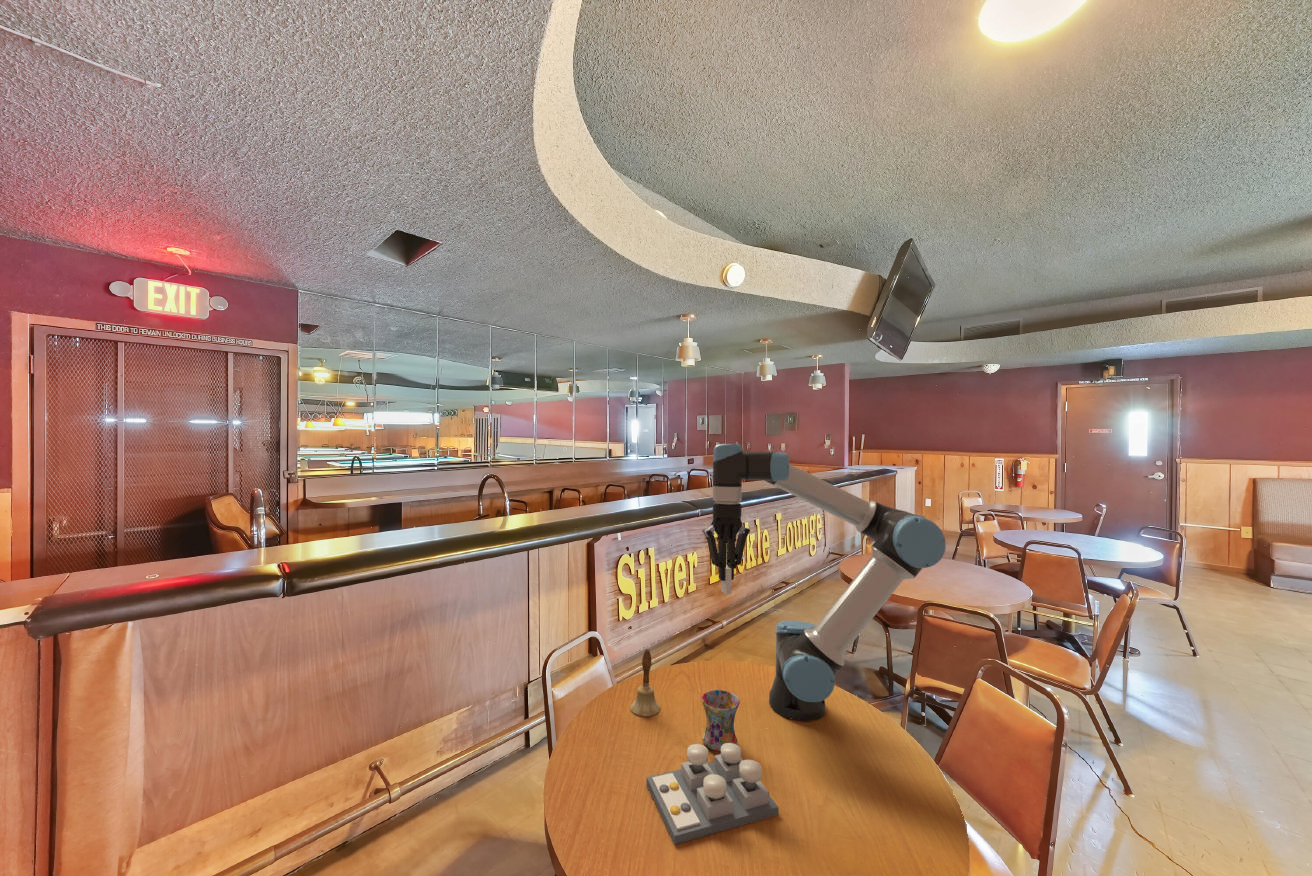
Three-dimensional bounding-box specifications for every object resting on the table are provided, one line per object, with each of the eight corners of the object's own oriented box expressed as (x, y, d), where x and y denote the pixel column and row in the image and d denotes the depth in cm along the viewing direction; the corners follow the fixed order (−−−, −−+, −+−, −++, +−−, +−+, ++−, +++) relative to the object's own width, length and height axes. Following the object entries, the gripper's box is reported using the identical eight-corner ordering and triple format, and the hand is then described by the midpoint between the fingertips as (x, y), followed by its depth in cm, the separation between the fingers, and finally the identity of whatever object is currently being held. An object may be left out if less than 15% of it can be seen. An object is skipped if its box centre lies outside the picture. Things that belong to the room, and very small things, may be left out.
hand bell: (642, 697, 134) (643, 641, 134) (666, 707, 129) (667, 648, 130) (624, 710, 127) (625, 651, 128) (648, 720, 122) (649, 659, 123)
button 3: (702, 760, 101) (702, 742, 101) (711, 773, 97) (711, 754, 97) (683, 764, 100) (684, 746, 100) (692, 778, 96) (692, 759, 96)
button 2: (753, 776, 96) (754, 757, 97) (765, 791, 92) (765, 771, 92) (735, 781, 95) (735, 762, 95) (746, 796, 91) (746, 776, 91)
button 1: (734, 759, 104) (734, 741, 104) (744, 771, 100) (745, 753, 100) (717, 763, 102) (717, 745, 103) (726, 776, 98) (726, 757, 98)
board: (737, 762, 106) (737, 745, 106) (778, 814, 91) (778, 794, 91) (646, 784, 99) (646, 766, 99) (674, 844, 84) (674, 822, 84)
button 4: (719, 791, 94) (719, 772, 94) (729, 807, 90) (730, 787, 90) (699, 796, 92) (699, 776, 92) (709, 813, 88) (709, 792, 88)
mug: (741, 756, 108) (741, 710, 109) (701, 754, 109) (702, 708, 109) (735, 726, 120) (736, 685, 121) (699, 724, 121) (700, 683, 121)
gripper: (741, 500, 128) (740, 586, 127) (698, 501, 124) (697, 590, 123) (756, 503, 121) (755, 594, 120) (711, 504, 117) (710, 599, 116)
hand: (726, 592), depth 122 cm, fingers closed
